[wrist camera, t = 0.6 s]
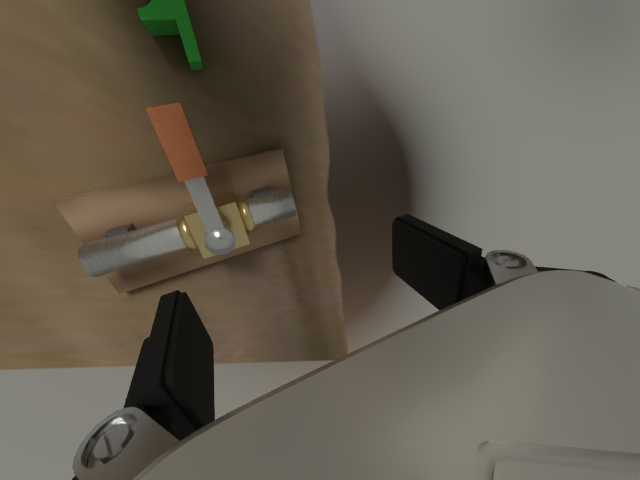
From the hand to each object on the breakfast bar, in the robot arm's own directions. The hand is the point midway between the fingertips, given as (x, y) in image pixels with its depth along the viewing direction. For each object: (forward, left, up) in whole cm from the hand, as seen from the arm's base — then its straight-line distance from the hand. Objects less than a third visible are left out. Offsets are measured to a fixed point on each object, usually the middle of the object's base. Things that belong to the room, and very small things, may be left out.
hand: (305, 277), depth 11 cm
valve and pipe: (+4, -6, -23) cm, 25 cm away
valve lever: (-2, -4, -18) cm, 19 cm away
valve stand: (+4, -6, -25) cm, 26 cm away
